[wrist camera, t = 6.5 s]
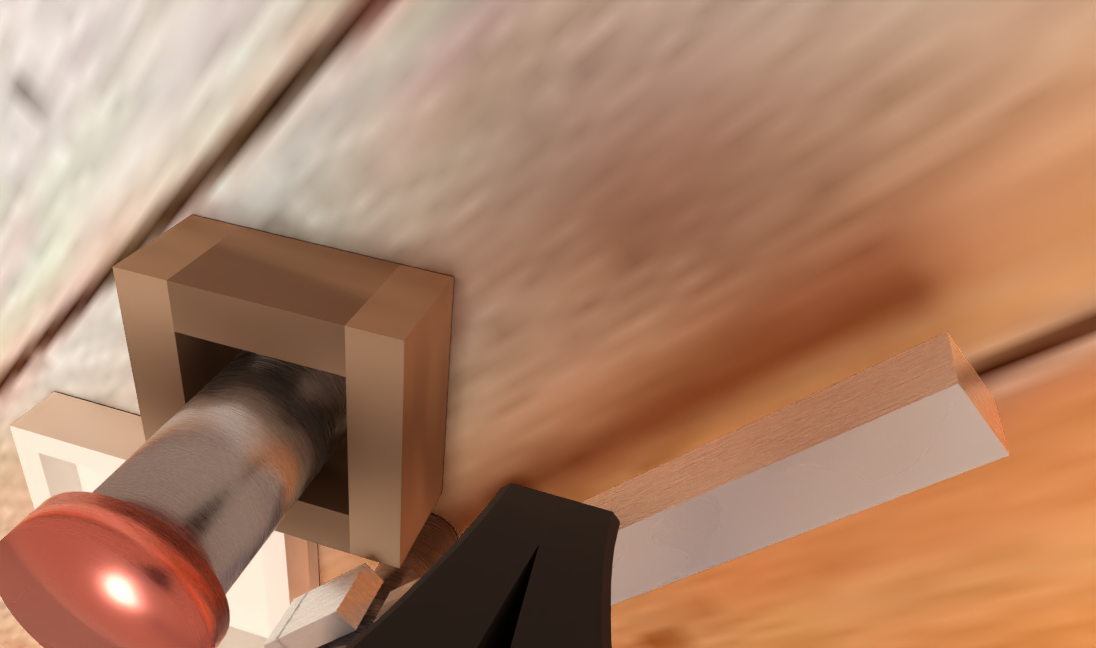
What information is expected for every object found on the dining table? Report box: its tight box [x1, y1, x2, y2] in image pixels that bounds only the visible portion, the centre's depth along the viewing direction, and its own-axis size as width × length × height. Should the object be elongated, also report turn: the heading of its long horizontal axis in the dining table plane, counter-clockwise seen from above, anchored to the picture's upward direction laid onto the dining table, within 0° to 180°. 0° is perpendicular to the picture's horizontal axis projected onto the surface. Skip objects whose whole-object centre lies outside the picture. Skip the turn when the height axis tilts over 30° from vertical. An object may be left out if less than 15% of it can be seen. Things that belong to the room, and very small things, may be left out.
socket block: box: [113, 215, 454, 568], centre depth 23 cm, size 7×7×3 cm
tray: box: [10, 392, 319, 648], centre depth 28 cm, size 9×9×2 cm
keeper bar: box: [263, 332, 1010, 648], centre depth 19 cm, size 18×4×2 cm, turn 131°
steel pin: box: [0, 350, 347, 648], centre depth 20 cm, size 4×4×9 cm
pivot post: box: [330, 514, 458, 648], centre depth 23 cm, size 3×3×7 cm
